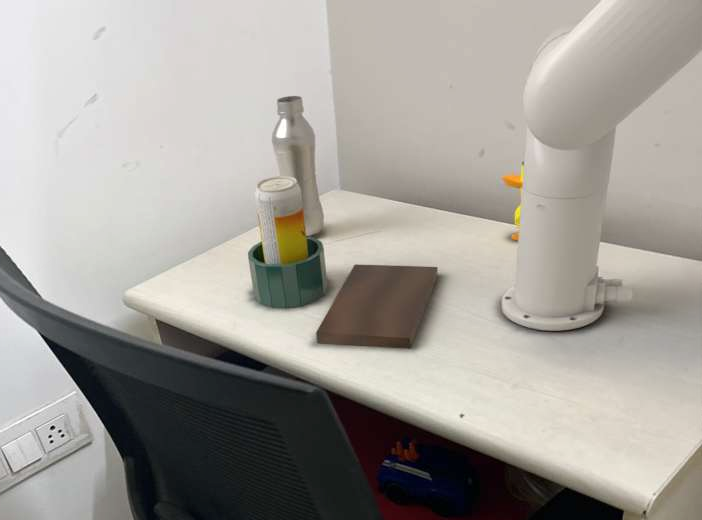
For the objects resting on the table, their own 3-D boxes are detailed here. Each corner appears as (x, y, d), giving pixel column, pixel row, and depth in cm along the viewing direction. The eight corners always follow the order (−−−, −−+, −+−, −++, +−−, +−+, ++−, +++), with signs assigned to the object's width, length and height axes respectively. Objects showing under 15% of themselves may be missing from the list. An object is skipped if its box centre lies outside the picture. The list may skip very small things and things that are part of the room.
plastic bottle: (321, 241, 122) (307, 104, 109) (280, 242, 123) (261, 106, 110) (329, 225, 127) (316, 92, 114) (289, 226, 128) (272, 94, 115)
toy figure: (493, 237, 117) (497, 154, 109) (507, 229, 119) (512, 147, 111) (532, 246, 113) (539, 162, 105) (545, 238, 115) (553, 154, 107)
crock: (335, 275, 112) (331, 235, 108) (315, 309, 105) (310, 267, 101) (268, 273, 115) (262, 234, 111) (244, 306, 107) (236, 265, 103)
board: (437, 276, 109) (437, 266, 108) (410, 348, 94) (410, 337, 93) (355, 274, 112) (354, 264, 111) (316, 343, 98) (315, 332, 97)
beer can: (320, 285, 110) (308, 177, 100) (296, 303, 106) (282, 193, 97) (285, 278, 113) (270, 173, 103) (261, 296, 109) (244, 188, 99)
